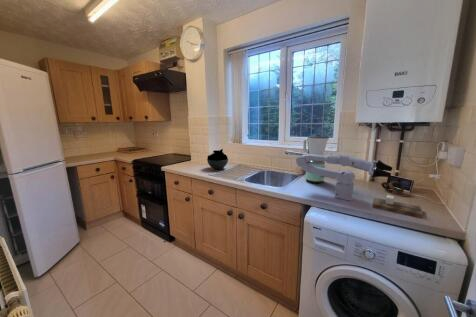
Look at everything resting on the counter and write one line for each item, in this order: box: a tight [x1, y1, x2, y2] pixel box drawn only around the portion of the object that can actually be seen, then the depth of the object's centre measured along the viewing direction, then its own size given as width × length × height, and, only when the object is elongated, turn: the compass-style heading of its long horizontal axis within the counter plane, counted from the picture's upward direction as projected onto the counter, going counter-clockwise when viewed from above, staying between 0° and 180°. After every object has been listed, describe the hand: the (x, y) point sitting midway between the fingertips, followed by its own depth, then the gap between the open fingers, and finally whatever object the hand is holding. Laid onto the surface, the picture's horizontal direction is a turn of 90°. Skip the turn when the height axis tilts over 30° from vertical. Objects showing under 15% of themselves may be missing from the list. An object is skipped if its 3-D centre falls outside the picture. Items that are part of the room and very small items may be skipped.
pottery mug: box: [381, 181, 405, 195], centre depth 128 cm, size 12×10×8 cm
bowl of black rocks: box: [206, 148, 229, 170], centre depth 189 cm, size 20×20×19 cm
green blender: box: [302, 134, 330, 185], centre depth 149 cm, size 19×13×35 cm
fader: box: [385, 194, 395, 205], centre depth 106 cm, size 3×5×4 cm, turn 142°
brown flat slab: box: [371, 197, 424, 219], centre depth 105 cm, size 20×11×2 cm, turn 52°
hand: (391, 172), depth 104 cm, fingers open, 7 cm apart
